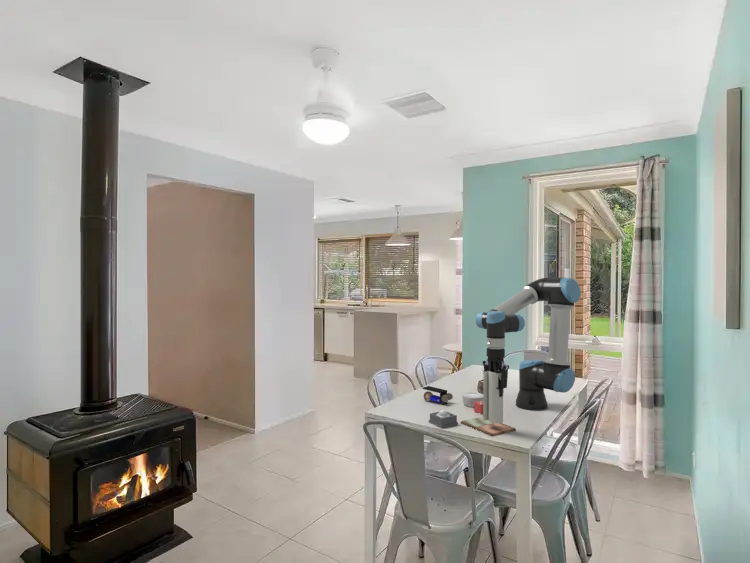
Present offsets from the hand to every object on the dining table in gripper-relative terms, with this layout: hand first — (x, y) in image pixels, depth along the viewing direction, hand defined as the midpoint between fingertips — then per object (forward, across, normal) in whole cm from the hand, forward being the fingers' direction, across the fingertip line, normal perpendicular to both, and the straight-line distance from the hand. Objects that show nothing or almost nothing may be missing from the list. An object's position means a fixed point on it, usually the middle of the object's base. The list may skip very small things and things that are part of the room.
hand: (495, 402), depth 192 cm
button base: (+12, -18, -14) cm, 25 cm away
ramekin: (+12, -33, +17) cm, 39 cm away
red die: (+12, -22, +12) cm, 27 cm away
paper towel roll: (+8, -1, 0) cm, 8 cm away
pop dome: (+10, -18, -14) cm, 25 cm away
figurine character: (+12, -46, +4) cm, 48 cm away
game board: (+12, -5, 0) cm, 13 cm away
